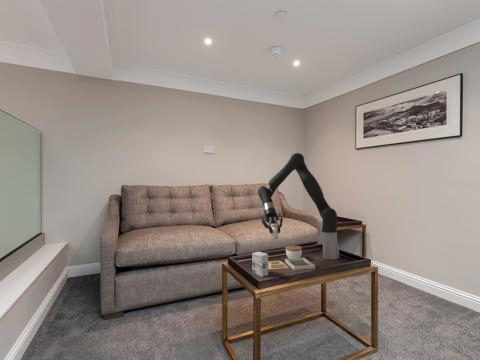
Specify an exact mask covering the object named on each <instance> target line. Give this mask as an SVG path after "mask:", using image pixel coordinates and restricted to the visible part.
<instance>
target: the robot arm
mask: <svg viewBox="0 0 480 360" xmlns="http://www.w3.org/2000/svg"><path fill="white" fill-rule="evenodd" d="M294 171H296V173H297V174H298V176H299V178H300V181H301V183H302V185H303V188H304V189H305V191H306V192H307V193H308V196H309V197H310V198H311V200H312V201H313V203H314V205H315V206H316V208H317V212H318V213H319V214H320V215H319V216H320V218H321V219H322V226H321V239H322V240H321V242H322V258H323V259H325V260H330V261H331V260H332V261H333V260H334V261H335V260H338V259H340V245H339V243H338V231H337V230H338V213H337V211H336V210H335V209H334V208H332V207H331V206H330V205H329V204H328V202H327V200H326V199H325V195H324V193H323V190H322V188H321V186H320V183H319V182H318V180H317V179H316V177H315V176H314V175H313V174H312V173H311V172H310V170H309V169H308V167H307V164H306V162H305V157H304V155H303V154H302V153H300V152H296V153H293V154H292V155H291V156H290V159H289V160H288V161H287V162H286V164H285V165H284V166H283V167H282V169H280V170H279V171H278V172H277V173H276V174H275V175H273V177H272V178H271V179H270V180H269V181H268V186H269V187H266V186H265V185H261V186H260V187H259V188H258V190H257V193H258V197H259V198H260V201H261V203H262V208H263V214H264V216H265V218H262V219H261V224H262V225H263V227H264V228H265V229H268V231H269V234H272V228H271V224H274V223H275V224H278V234H280V233H281V228H282V226H283V219H284V218H283V217H281V218H280V217H279V216H278V213H277V211H276V207H275V205H274V202H273V201H274V200H273V199H272V198H273V195H274V193H275V191H276V190H277V188H278V187H280V186H281V184H282V183H284V181H285V180H286V179H287V178H288V177H289V176H290V174H291V173H292V172H294ZM267 223H268V224H267Z"/></svg>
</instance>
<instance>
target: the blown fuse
mask: <svg viewBox="0 0 480 360" xmlns="http://www.w3.org/2000/svg"><path fill="white" fill-rule="evenodd" d="M278 224H279V223H278ZM278 224H275V223H274V224H271V228H272V234H271V233H270V234H271V240H275V241H276V240H279V233H278Z"/></svg>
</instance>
